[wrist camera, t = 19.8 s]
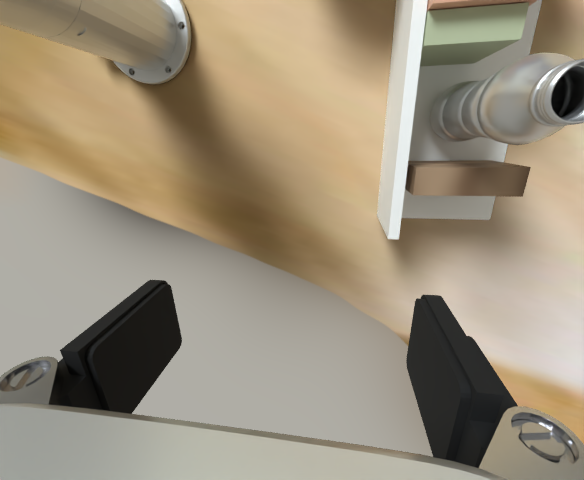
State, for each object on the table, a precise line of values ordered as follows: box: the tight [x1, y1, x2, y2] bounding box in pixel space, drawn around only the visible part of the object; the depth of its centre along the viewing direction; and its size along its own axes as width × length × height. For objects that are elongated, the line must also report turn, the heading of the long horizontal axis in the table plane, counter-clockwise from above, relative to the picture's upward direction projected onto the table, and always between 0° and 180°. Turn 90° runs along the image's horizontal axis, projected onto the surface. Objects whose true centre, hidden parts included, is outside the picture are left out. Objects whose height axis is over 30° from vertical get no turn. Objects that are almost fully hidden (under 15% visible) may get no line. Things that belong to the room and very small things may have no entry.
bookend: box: [405, 160, 530, 196], centre depth 34 cm, size 11×3×8 cm, turn 91°
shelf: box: [377, 0, 542, 239], centre depth 30 cm, size 15×30×13 cm, turn 1°
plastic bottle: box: [430, 53, 584, 145], centre depth 26 cm, size 6×7×20 cm
